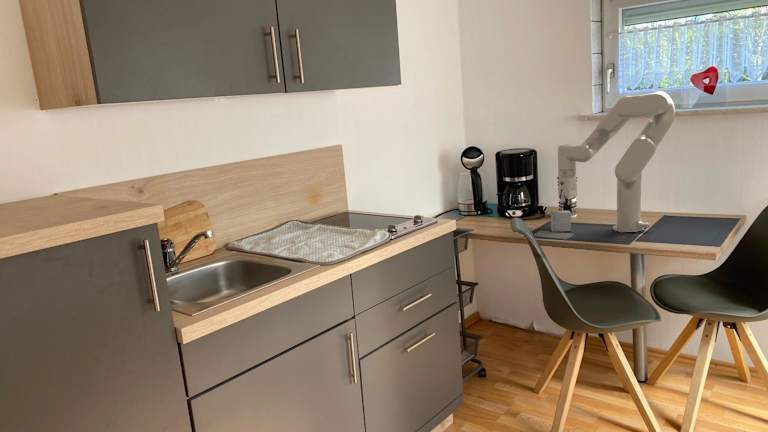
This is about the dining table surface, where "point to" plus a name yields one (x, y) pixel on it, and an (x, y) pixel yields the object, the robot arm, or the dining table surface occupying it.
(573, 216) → the decorative candle
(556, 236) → the mat
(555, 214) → the medicine box
